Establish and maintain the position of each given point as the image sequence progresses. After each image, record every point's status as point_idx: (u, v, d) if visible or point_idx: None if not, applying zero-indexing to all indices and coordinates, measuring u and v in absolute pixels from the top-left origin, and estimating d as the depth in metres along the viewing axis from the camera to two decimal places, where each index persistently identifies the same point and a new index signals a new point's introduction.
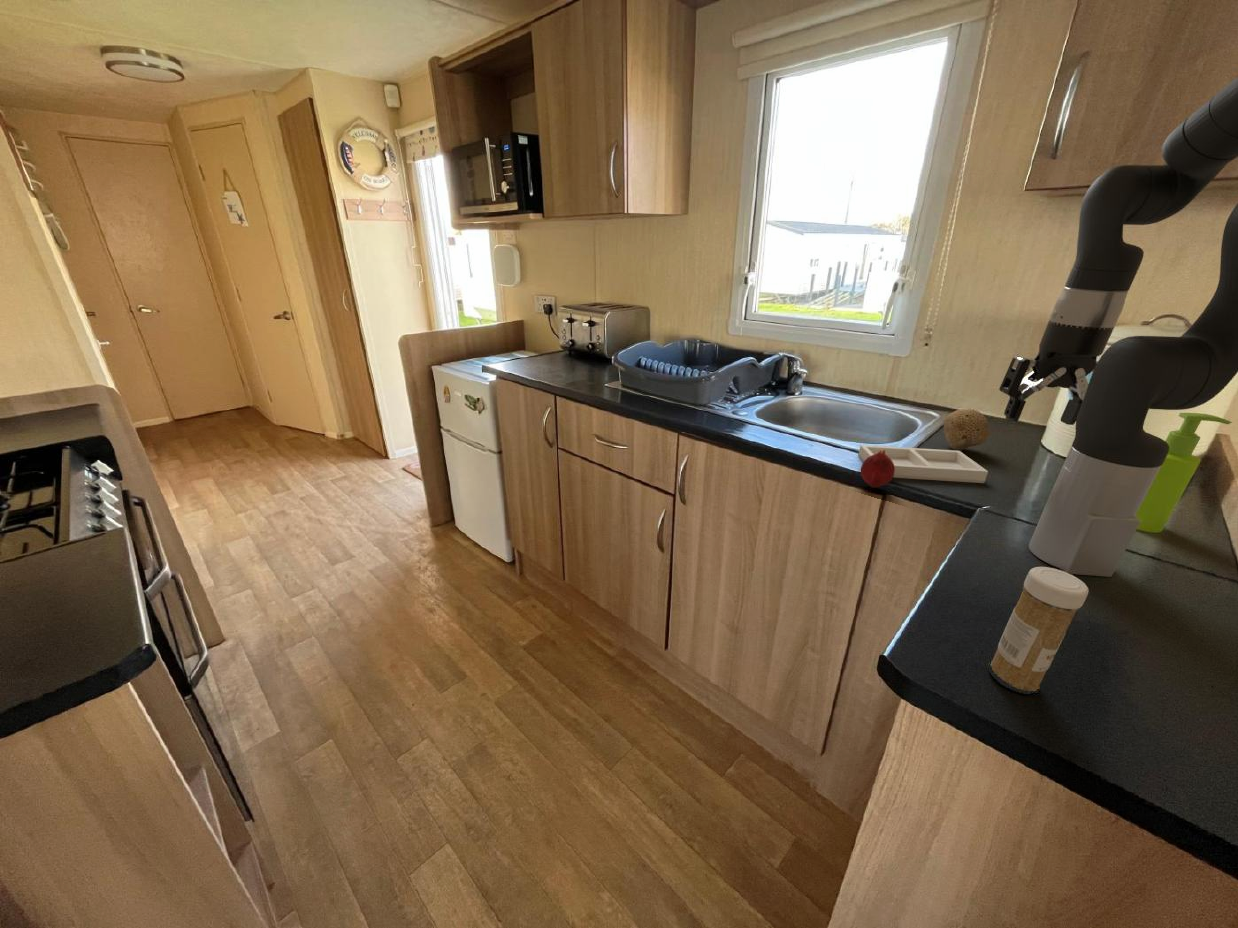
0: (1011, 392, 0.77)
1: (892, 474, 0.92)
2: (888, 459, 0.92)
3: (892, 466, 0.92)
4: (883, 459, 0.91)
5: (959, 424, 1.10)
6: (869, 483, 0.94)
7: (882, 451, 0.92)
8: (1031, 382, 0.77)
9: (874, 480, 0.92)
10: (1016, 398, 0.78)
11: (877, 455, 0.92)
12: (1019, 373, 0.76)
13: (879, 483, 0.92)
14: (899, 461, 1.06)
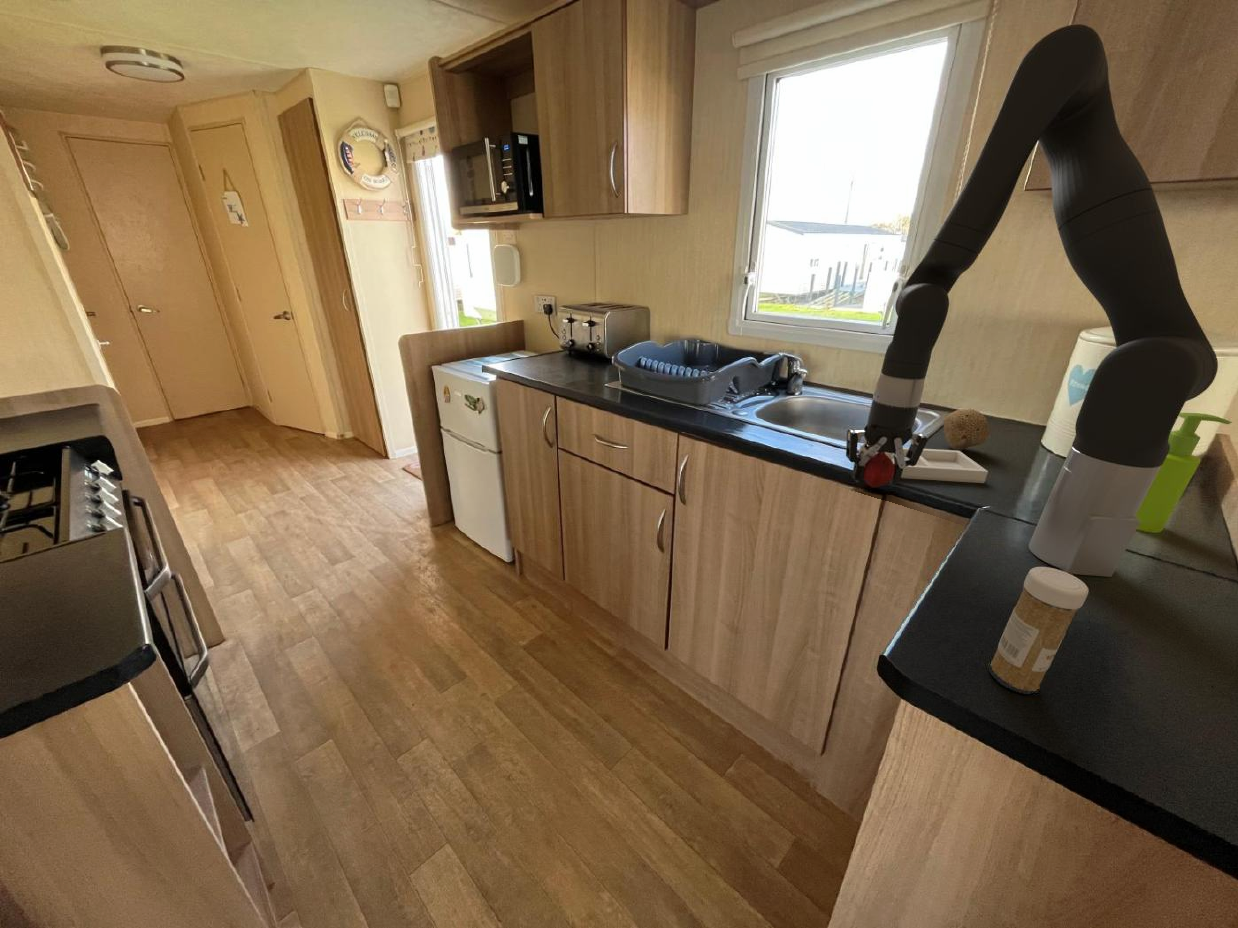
0: (852, 459, 0.92)
1: (892, 474, 0.92)
2: (888, 459, 0.92)
3: (892, 466, 0.92)
4: (883, 459, 0.91)
5: (959, 424, 1.10)
6: (869, 483, 0.94)
7: None
8: (865, 450, 0.92)
9: (874, 480, 0.92)
10: (858, 464, 0.93)
11: (877, 455, 0.92)
12: (852, 444, 0.91)
13: (879, 483, 0.92)
14: None
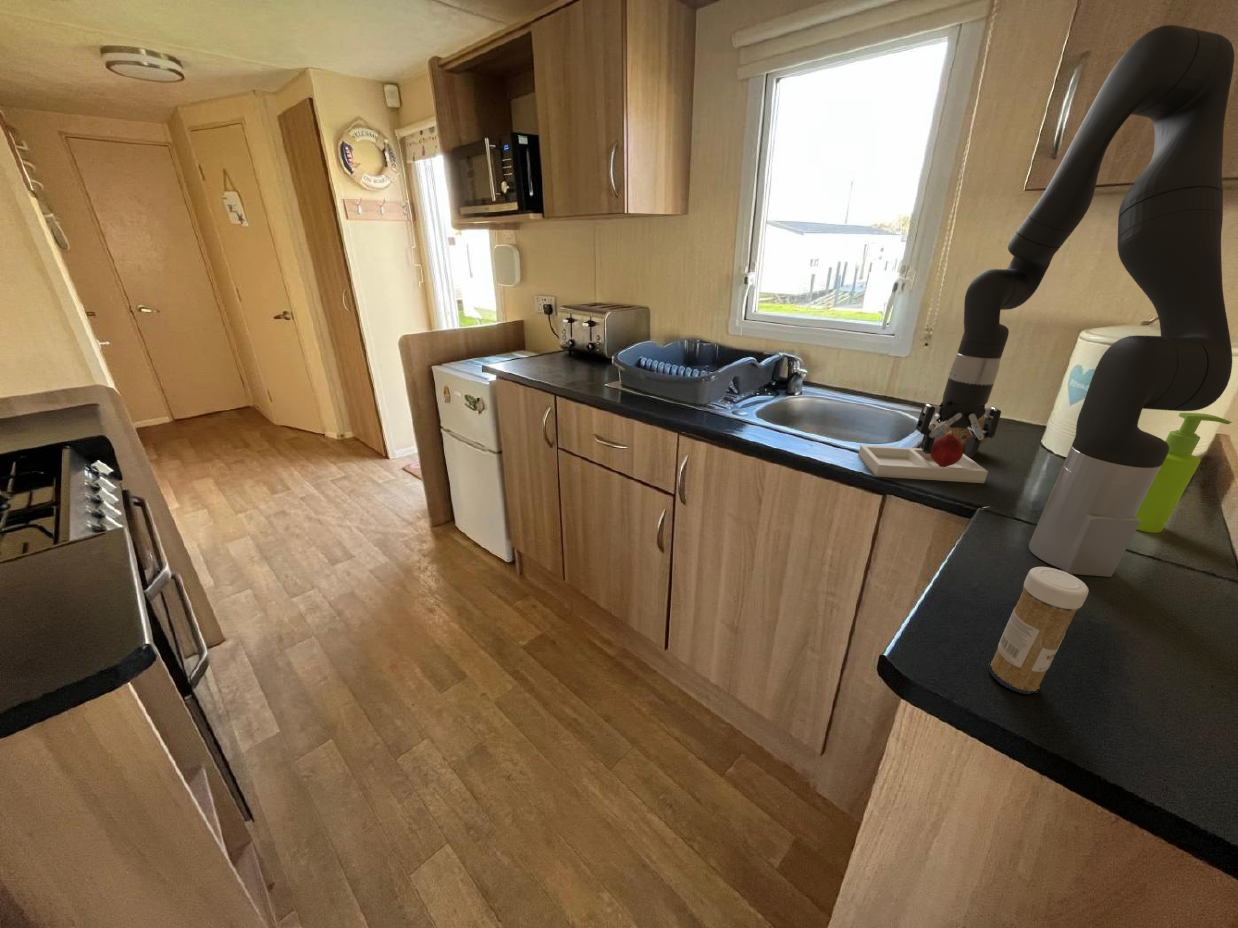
0: (923, 431, 0.99)
1: (961, 453, 1.00)
2: (957, 440, 1.00)
3: (961, 446, 1.00)
4: (952, 440, 0.99)
5: None
6: (939, 463, 1.02)
7: (951, 433, 1.00)
8: (938, 423, 0.99)
9: (944, 460, 1.00)
10: (927, 435, 1.00)
11: (946, 437, 1.00)
12: (927, 417, 0.98)
13: (949, 462, 1.00)
14: (899, 461, 1.06)
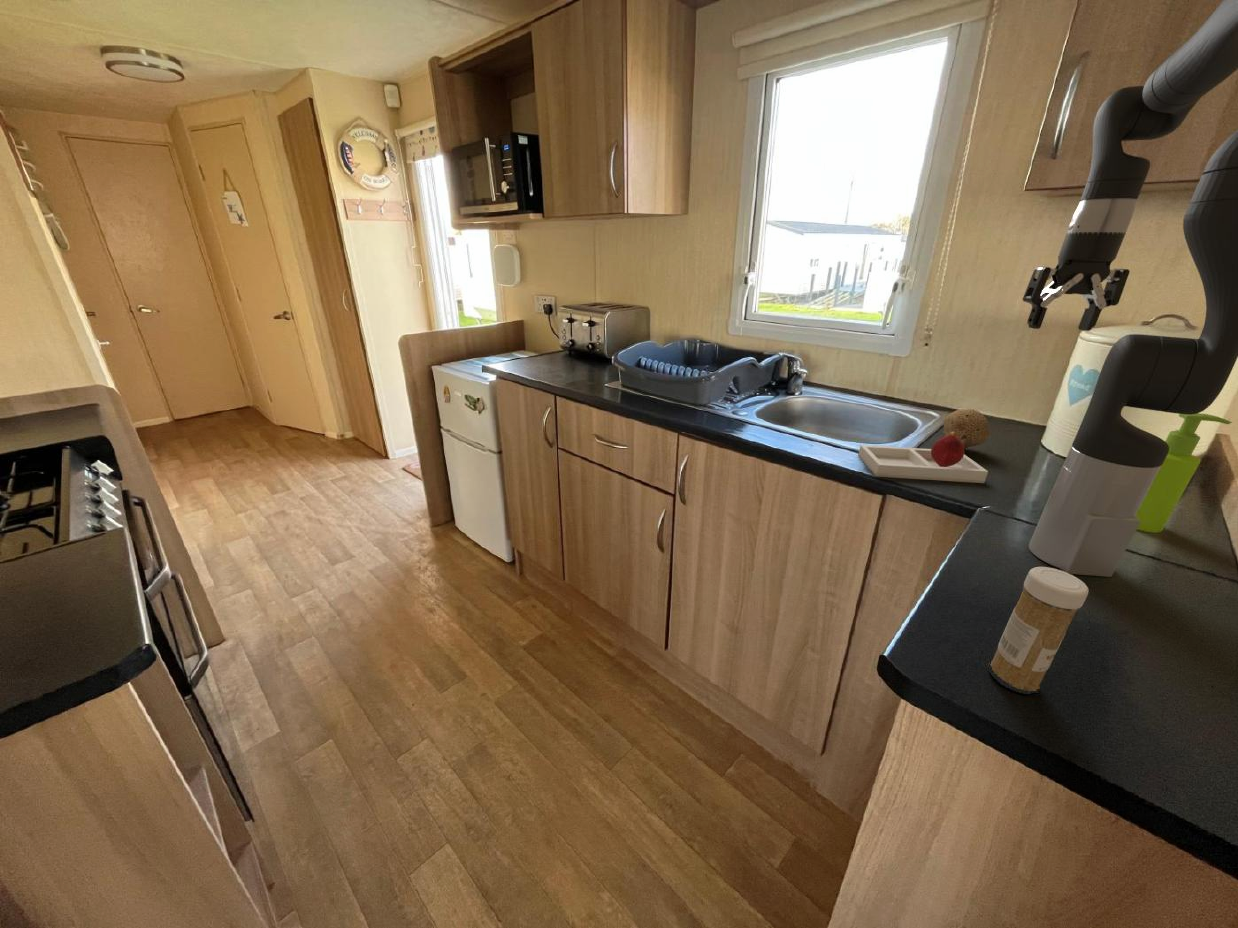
0: (1034, 299, 0.86)
1: (962, 454, 1.00)
2: (959, 441, 1.00)
3: (962, 447, 1.00)
4: (954, 440, 0.99)
5: (959, 424, 1.10)
6: (940, 463, 1.02)
7: (953, 433, 1.00)
8: (1052, 290, 0.86)
9: (945, 460, 1.00)
10: (1038, 305, 0.87)
11: (948, 437, 1.00)
12: (1041, 280, 0.85)
13: (950, 463, 1.00)
14: (899, 461, 1.06)
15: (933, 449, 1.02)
